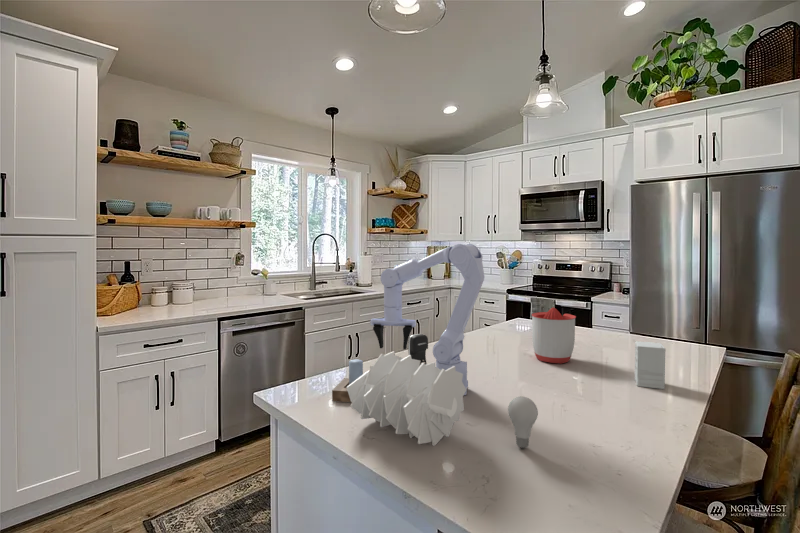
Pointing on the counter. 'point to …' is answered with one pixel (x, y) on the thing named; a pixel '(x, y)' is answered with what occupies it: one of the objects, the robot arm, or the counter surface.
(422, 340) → the battery charger
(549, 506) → the counter surface
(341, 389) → the socket block
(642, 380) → the supplement box
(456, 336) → the robot arm
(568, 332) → the citrus juicer
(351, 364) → the peg
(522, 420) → the lightbulb
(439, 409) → the spiral staircase
